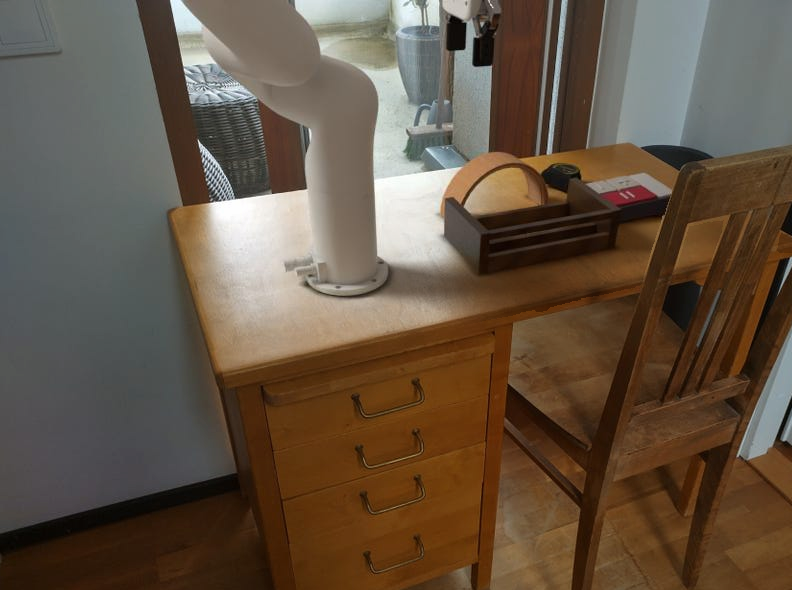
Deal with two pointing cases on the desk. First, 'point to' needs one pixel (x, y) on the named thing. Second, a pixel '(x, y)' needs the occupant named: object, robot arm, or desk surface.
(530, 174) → the arch
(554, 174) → the tape measure
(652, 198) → the plus minus keypad
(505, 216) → the rack
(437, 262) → the desk surface
